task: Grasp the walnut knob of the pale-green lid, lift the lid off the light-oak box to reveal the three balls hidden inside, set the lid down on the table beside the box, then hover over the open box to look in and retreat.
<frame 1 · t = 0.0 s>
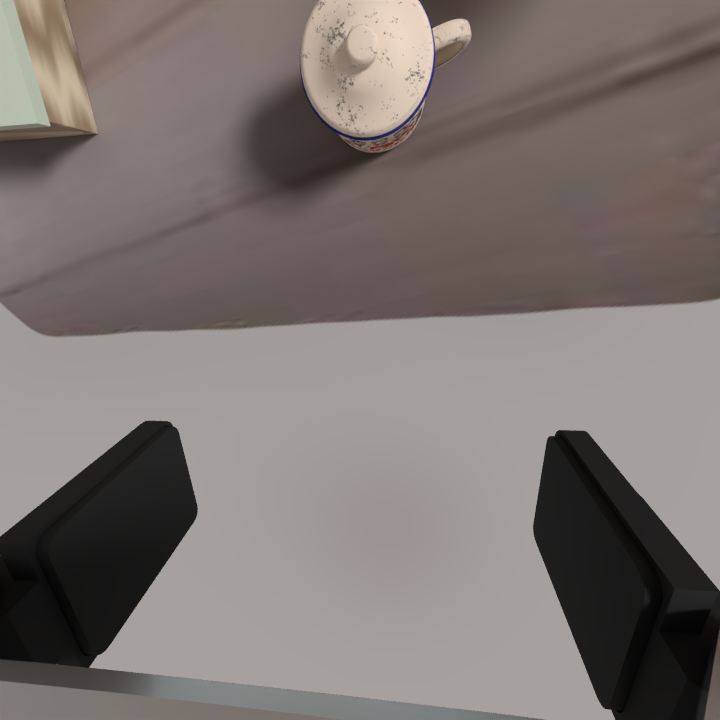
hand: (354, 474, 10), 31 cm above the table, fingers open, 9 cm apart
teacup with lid: (391, 91, 33), on the table
box: (14, 58, 35), on the table
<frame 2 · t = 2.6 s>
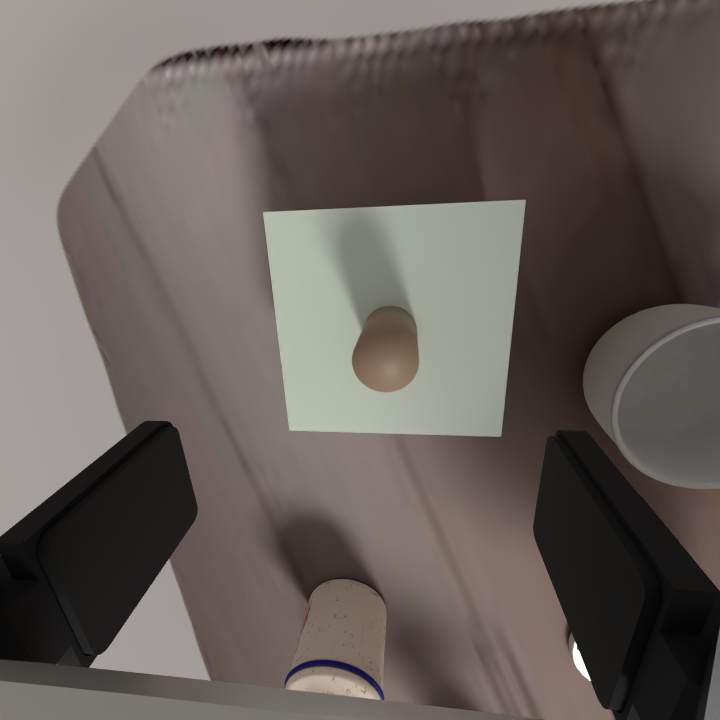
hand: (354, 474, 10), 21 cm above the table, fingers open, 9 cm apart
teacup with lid: (352, 612, 42), on the table
lid: (391, 326, 24), point 6 cm above the table, touching box
teacup: (662, 354, 28), on the table
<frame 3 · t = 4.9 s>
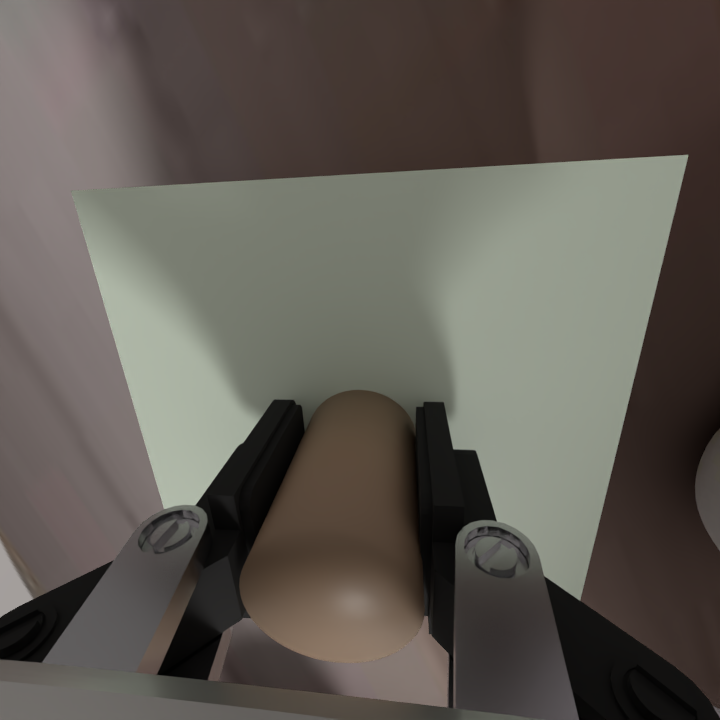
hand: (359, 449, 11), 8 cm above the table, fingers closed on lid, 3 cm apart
lid: (365, 418, 12), point 6 cm above the table, touching box, gripper
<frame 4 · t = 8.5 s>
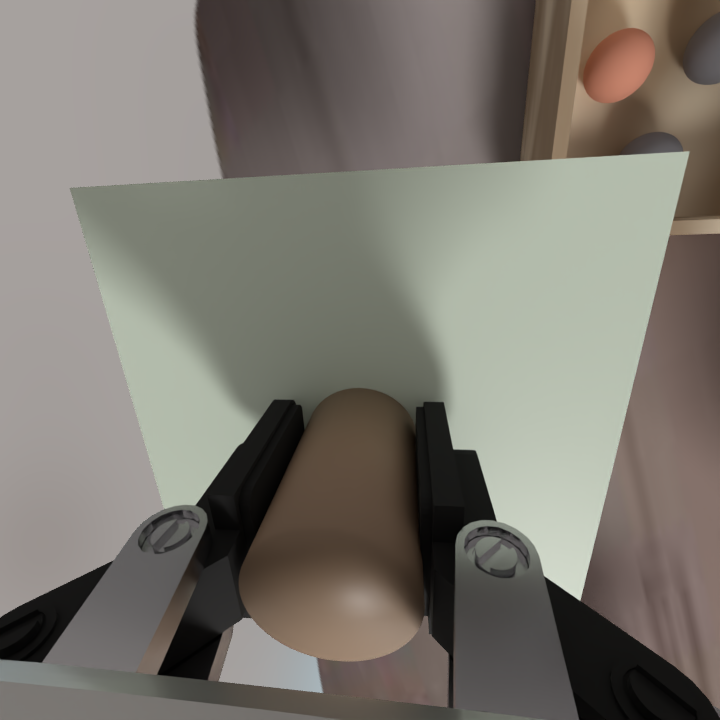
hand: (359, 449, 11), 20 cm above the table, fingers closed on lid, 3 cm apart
lid: (365, 416, 12), point 18 cm above the table, touching gripper
ball 2: (603, 77, 22), point 1 cm above the table, touching box
box: (635, 117, 23), on the table
ball 1: (700, 58, 21), point 1 cm above the table, touching box
ball 3: (631, 167, 23), point 1 cm above the table, touching box
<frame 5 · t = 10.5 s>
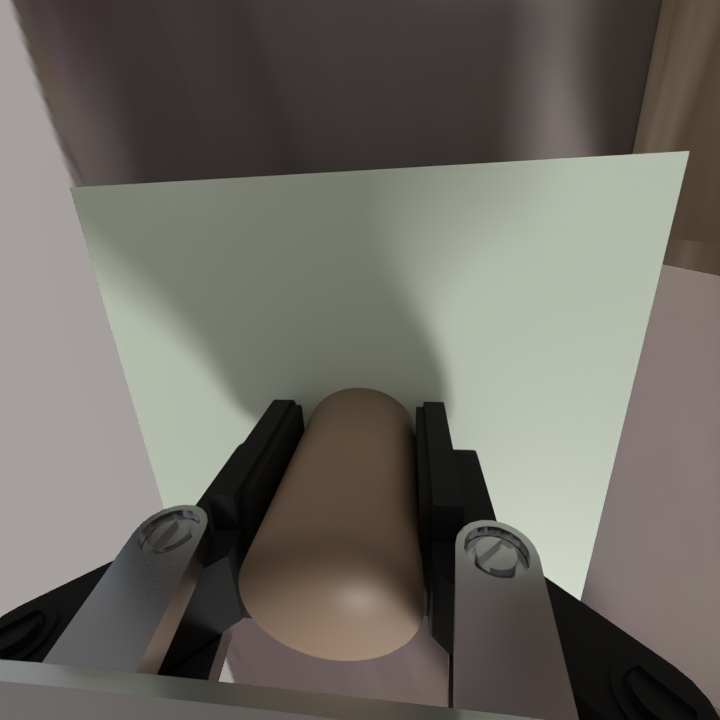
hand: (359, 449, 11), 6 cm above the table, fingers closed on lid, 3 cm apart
lid: (365, 416, 12), point 4 cm above the table, touching gripper
when the fingers open (3 cm above the table, at t = 12.0 s): lid drops 2 cm, on the table.
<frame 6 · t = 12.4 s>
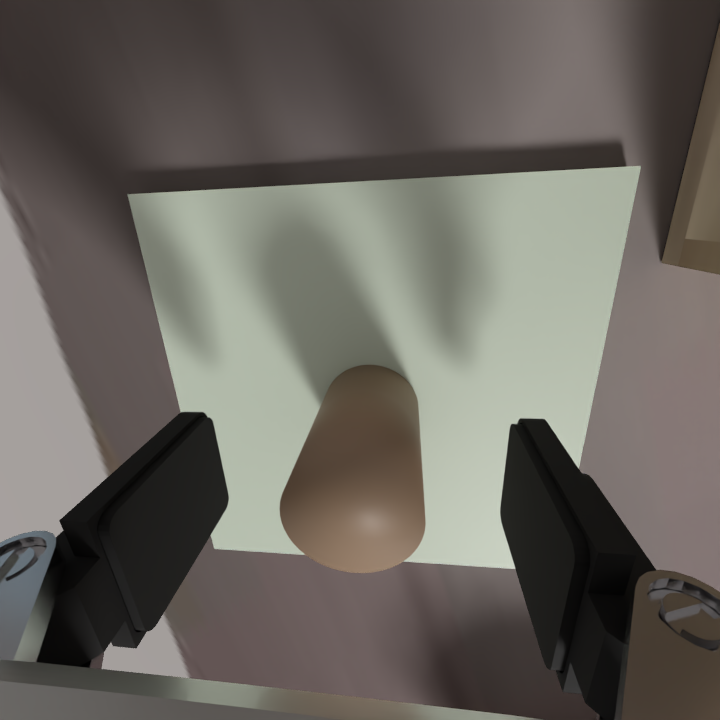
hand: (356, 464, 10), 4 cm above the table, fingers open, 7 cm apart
lid: (373, 392, 14), on the table
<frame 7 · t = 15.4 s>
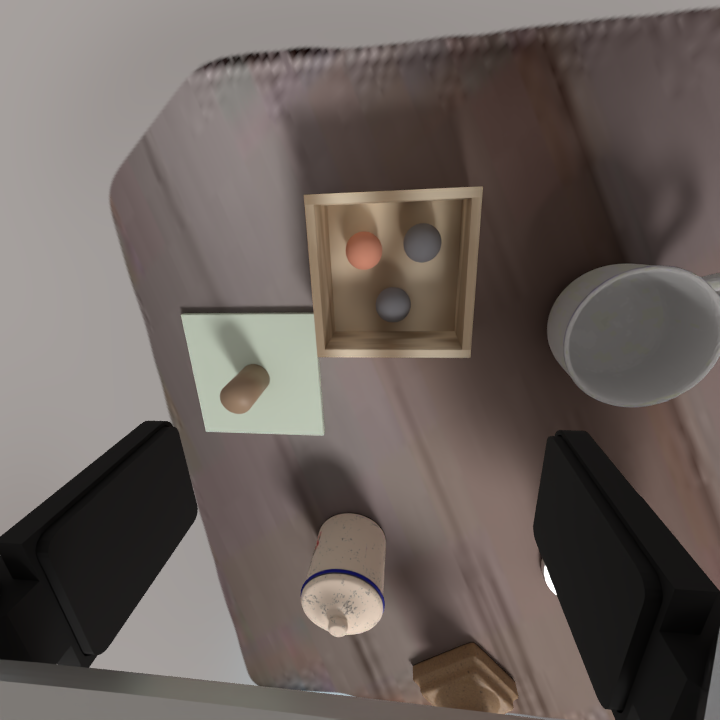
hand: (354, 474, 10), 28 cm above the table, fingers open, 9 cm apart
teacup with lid: (356, 544, 49), on the table
candle holder: (463, 673, 56), on the table
lid: (259, 373, 42), on the table
teacup: (612, 308, 35), on the table
ball 2: (365, 249, 34), point 1 cm above the table, touching box
box: (393, 269, 35), on the table
ball 1: (421, 241, 33), point 1 cm above the table, touching box
ball 3: (393, 300, 36), point 1 cm above the table, touching box
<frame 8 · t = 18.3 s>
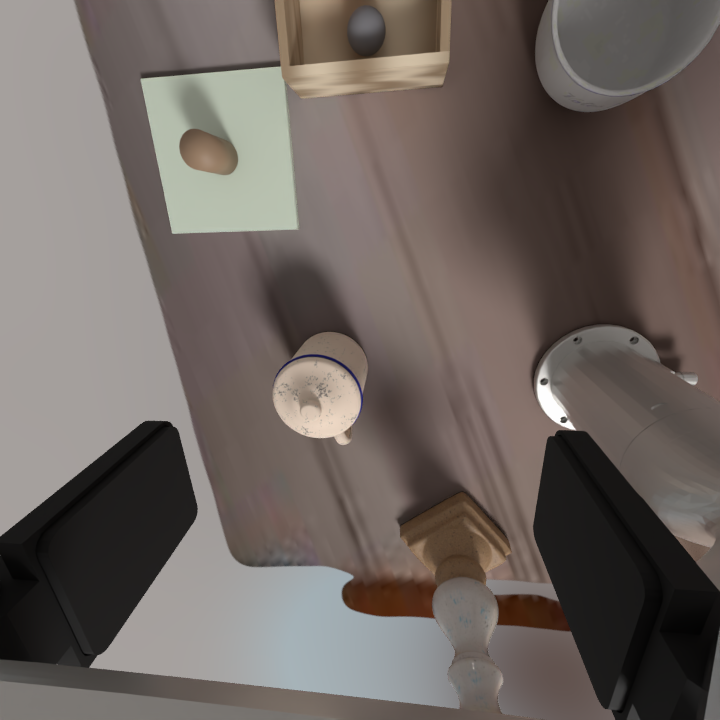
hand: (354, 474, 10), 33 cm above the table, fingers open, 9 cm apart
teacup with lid: (337, 375, 46), on the table
candle holder: (453, 532, 53), on the table
lid: (227, 159, 39), on the table
teacup: (606, 38, 32), on the table
box: (367, 2, 32), on the table
ball 3: (368, 39, 33), point 1 cm above the table, touching box
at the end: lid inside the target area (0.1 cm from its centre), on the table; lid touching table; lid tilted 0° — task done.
